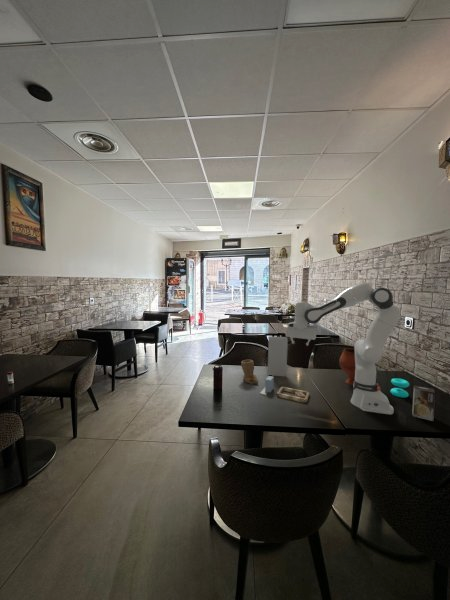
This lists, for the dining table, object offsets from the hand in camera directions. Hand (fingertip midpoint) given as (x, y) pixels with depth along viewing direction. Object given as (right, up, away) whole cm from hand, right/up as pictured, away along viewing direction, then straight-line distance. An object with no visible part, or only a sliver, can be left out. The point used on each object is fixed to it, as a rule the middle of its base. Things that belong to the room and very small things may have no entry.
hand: (300, 344), depth 175 cm
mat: (-22, -31, -6) cm, 39 cm away
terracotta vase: (+42, -31, +12) cm, 54 cm away
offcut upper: (-5, -31, -15) cm, 34 cm away
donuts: (+65, -33, -6) cm, 73 cm away
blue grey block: (-22, -30, -6) cm, 38 cm away
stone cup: (-34, -29, +14) cm, 47 cm away
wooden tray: (-9, -32, -14) cm, 36 cm away
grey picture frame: (+59, -35, -33) cm, 76 cm away
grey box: (-11, -29, +26) cm, 41 cm away
